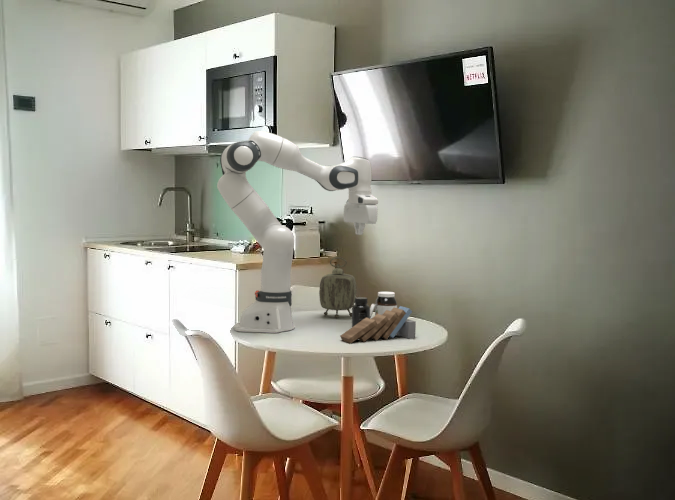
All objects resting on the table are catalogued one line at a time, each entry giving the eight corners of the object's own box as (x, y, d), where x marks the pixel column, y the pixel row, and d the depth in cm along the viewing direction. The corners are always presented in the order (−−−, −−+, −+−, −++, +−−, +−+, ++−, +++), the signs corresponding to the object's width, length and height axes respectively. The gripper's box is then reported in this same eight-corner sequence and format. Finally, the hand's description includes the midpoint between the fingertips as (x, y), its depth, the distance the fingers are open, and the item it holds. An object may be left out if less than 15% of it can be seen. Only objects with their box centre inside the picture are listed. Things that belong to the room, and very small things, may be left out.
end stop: (408, 338, 239) (408, 322, 239) (392, 333, 248) (392, 317, 248) (415, 338, 241) (415, 321, 240) (399, 333, 250) (399, 316, 249)
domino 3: (373, 337, 235) (395, 312, 238) (364, 334, 240) (386, 309, 244) (376, 340, 235) (398, 316, 239) (367, 337, 241) (389, 313, 244)
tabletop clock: (355, 316, 284) (357, 256, 282) (353, 320, 275) (354, 258, 273) (321, 314, 286) (322, 255, 284) (318, 318, 277) (318, 257, 275)
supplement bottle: (372, 328, 257) (373, 297, 256) (365, 332, 250) (366, 299, 250) (355, 327, 259) (356, 296, 259) (348, 330, 253) (349, 298, 252)
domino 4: (383, 336, 237) (403, 309, 240) (374, 333, 242) (393, 307, 245) (386, 339, 237) (406, 312, 240) (377, 336, 242) (396, 310, 246)
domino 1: (348, 339, 230) (375, 320, 234) (339, 335, 235) (366, 317, 240) (350, 343, 230) (377, 324, 235) (342, 340, 235) (368, 321, 240)
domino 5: (389, 335, 238) (409, 308, 241) (380, 332, 243) (399, 305, 246) (393, 338, 239) (412, 311, 242) (383, 335, 244) (402, 309, 247)
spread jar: (399, 323, 269) (399, 294, 269) (372, 324, 266) (373, 294, 265) (388, 318, 281) (389, 290, 280) (362, 319, 278) (363, 290, 277)
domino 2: (361, 338, 232) (386, 316, 237) (353, 334, 237) (377, 313, 242) (364, 342, 233) (388, 320, 237) (355, 338, 238) (379, 317, 242)
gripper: (339, 198, 271) (339, 233, 272) (366, 199, 253) (365, 236, 254) (353, 198, 274) (352, 233, 275) (380, 199, 256) (379, 236, 257)
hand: (359, 234), depth 264 cm, fingers closed
